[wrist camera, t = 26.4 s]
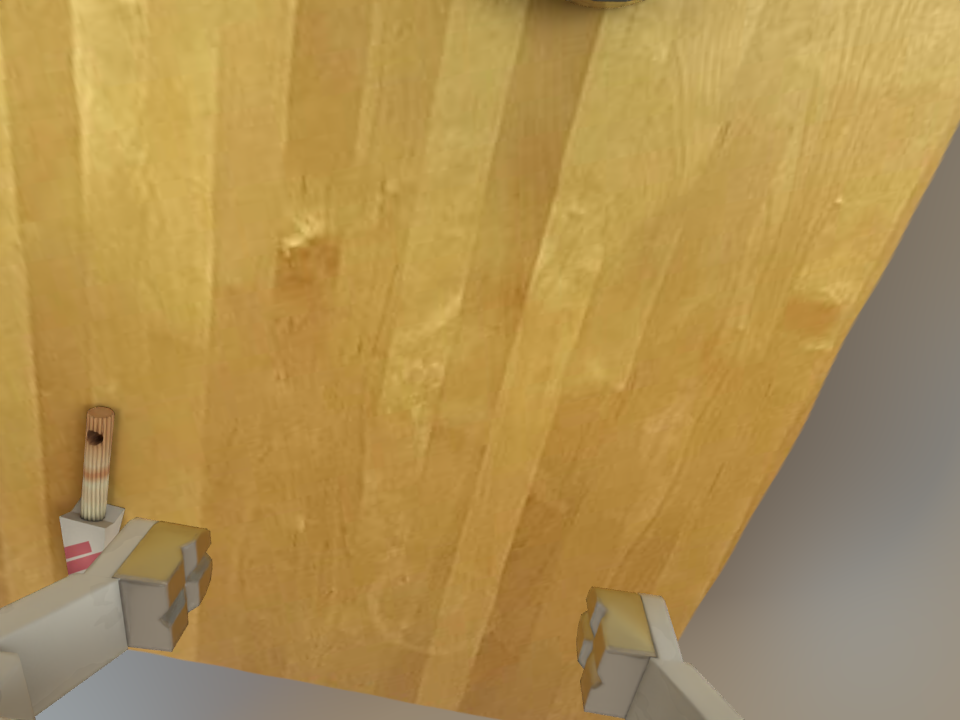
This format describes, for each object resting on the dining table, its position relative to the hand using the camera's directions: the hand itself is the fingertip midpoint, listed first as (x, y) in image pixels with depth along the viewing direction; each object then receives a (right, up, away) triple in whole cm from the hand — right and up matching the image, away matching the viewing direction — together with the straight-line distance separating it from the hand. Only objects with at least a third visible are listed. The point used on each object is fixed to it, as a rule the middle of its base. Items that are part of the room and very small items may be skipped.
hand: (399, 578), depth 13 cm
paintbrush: (-31, -8, +40) cm, 51 cm away
